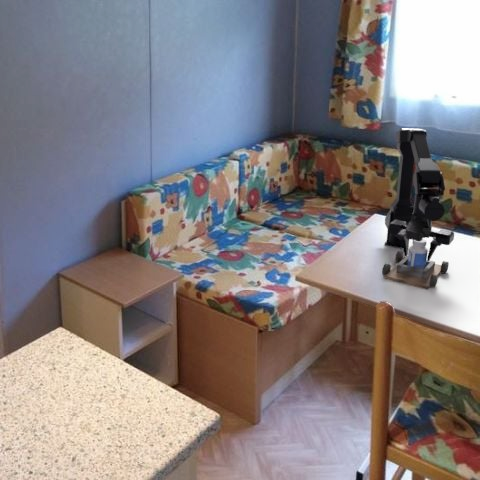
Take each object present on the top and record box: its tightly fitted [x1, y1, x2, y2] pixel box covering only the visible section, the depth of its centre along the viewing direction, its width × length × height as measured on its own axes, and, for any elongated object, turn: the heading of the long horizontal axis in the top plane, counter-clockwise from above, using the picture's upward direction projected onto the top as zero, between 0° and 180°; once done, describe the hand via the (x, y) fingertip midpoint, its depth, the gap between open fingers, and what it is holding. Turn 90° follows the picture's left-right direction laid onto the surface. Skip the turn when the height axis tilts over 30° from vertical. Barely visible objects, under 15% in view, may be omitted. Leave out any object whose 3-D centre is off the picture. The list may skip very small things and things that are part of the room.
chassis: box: [381, 250, 450, 290], centre depth 207 cm, size 16×18×4 cm
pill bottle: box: [407, 238, 429, 269], centre depth 205 cm, size 6×5×10 cm
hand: (417, 258), depth 205 cm, fingers open, 7 cm apart
